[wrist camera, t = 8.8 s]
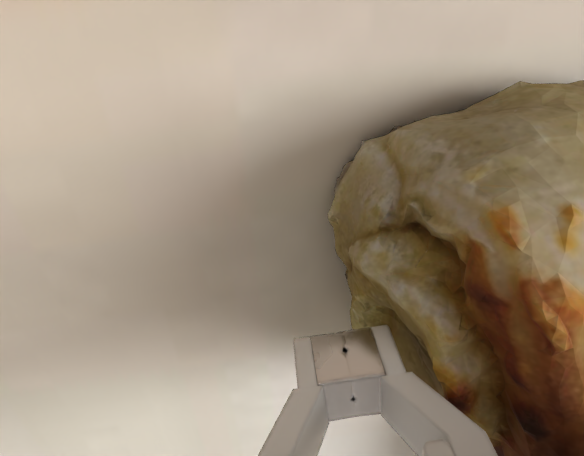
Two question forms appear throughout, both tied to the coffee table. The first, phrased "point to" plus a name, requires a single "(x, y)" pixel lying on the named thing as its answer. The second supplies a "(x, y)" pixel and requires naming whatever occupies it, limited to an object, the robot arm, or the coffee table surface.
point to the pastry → (479, 259)
